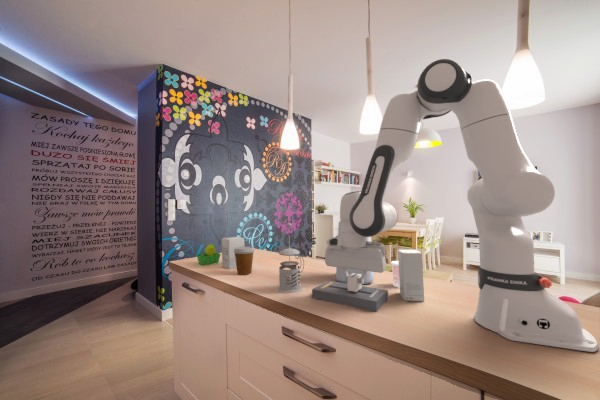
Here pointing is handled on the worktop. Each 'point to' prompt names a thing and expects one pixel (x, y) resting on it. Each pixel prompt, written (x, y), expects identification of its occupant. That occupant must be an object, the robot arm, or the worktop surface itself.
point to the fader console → (351, 295)
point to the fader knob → (353, 282)
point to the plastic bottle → (340, 275)
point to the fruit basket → (208, 256)
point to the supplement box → (230, 251)
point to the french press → (289, 272)
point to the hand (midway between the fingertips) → (354, 282)
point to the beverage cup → (395, 273)
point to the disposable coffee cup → (244, 259)
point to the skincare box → (411, 275)
